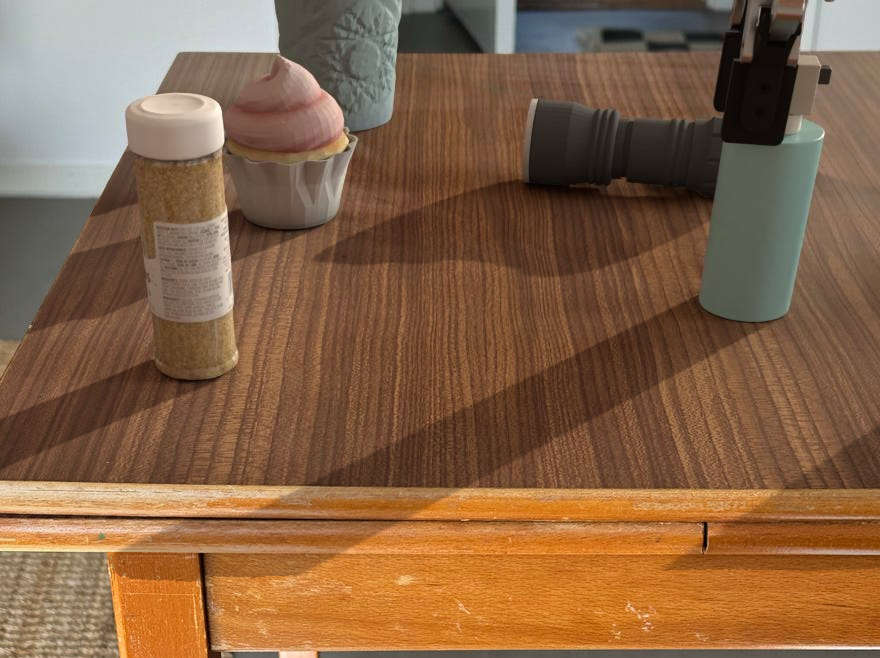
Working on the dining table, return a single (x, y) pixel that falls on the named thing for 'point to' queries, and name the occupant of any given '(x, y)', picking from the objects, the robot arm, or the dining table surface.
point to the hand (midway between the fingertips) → (746, 123)
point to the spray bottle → (764, 212)
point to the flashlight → (619, 148)
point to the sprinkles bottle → (184, 232)
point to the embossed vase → (345, 52)
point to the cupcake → (287, 149)
